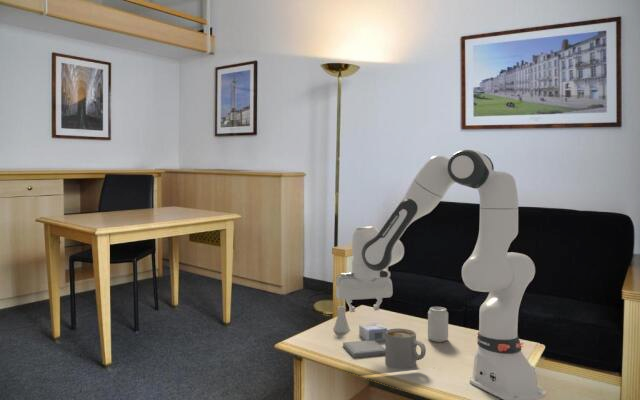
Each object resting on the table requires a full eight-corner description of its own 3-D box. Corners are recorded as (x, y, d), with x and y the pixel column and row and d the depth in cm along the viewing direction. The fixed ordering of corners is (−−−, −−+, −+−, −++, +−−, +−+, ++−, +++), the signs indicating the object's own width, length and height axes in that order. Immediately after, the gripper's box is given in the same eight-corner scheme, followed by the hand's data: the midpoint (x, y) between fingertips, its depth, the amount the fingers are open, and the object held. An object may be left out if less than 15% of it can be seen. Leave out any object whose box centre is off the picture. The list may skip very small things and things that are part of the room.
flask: (349, 335, 195) (349, 309, 195) (331, 334, 197) (331, 309, 196) (351, 330, 202) (351, 305, 202) (334, 329, 204) (333, 304, 203)
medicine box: (368, 331, 186) (358, 324, 194) (368, 342, 186) (358, 336, 194) (387, 328, 189) (377, 322, 197) (387, 340, 189) (377, 333, 197)
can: (446, 336, 193) (446, 306, 193) (449, 343, 186) (449, 310, 185) (426, 336, 194) (426, 305, 194) (428, 342, 187) (429, 310, 186)
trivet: (387, 354, 174) (387, 350, 173) (354, 357, 170) (354, 353, 170) (374, 343, 185) (374, 339, 185) (343, 346, 182) (343, 342, 182)
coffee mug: (379, 362, 166) (379, 332, 165) (397, 355, 173) (397, 326, 172) (413, 373, 156) (413, 341, 156) (430, 365, 163) (431, 334, 163)
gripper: (339, 275, 171) (338, 315, 172) (394, 272, 176) (394, 311, 177) (333, 271, 177) (333, 310, 178) (387, 269, 182) (387, 306, 183)
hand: (364, 311), depth 177 cm, fingers open, 8 cm apart
